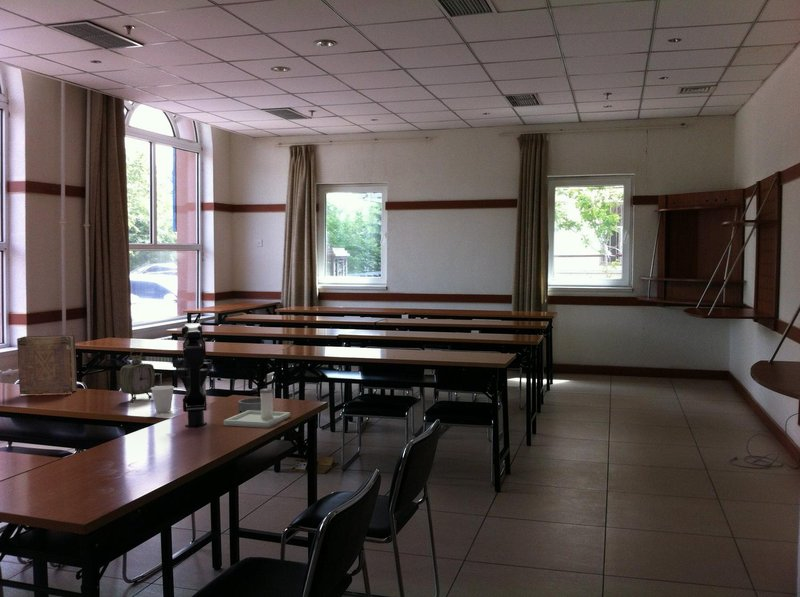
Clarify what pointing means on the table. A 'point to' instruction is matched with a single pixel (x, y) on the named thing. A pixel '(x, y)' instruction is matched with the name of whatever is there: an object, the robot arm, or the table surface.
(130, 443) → the table surface
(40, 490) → the table surface
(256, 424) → the tray
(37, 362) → the book
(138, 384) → the tabletop clock
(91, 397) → the table surface
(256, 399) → the collar
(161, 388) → the cup
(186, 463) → the table surface
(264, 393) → the canister
